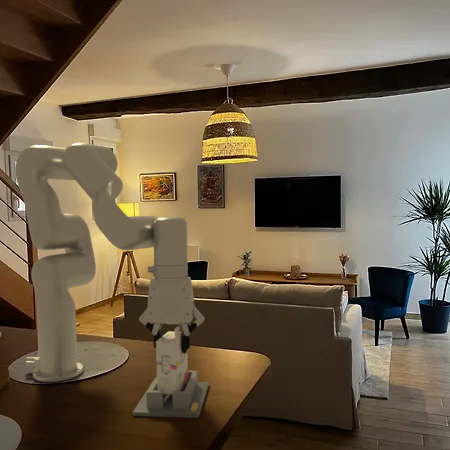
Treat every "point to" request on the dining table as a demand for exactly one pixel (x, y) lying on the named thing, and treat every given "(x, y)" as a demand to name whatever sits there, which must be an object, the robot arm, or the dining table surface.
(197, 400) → the grey box holder
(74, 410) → the dining table surface
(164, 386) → the ink cartridge box
